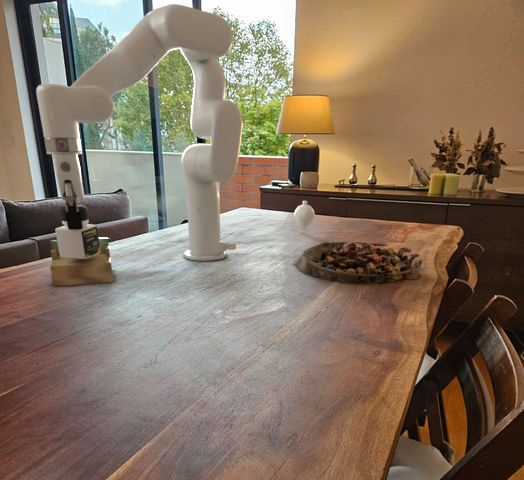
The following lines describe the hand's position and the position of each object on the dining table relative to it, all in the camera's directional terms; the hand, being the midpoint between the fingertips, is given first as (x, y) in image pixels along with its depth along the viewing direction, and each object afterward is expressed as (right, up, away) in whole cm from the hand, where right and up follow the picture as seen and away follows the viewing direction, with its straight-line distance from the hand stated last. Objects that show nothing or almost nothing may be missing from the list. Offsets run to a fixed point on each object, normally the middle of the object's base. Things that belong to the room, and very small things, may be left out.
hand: (76, 225), depth 111 cm
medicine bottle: (0, -7, +3) cm, 7 cm away
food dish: (+72, -7, +19) cm, 75 cm away
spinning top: (+61, +15, +65) cm, 90 cm away
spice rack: (-1, -12, +7) cm, 14 cm away
